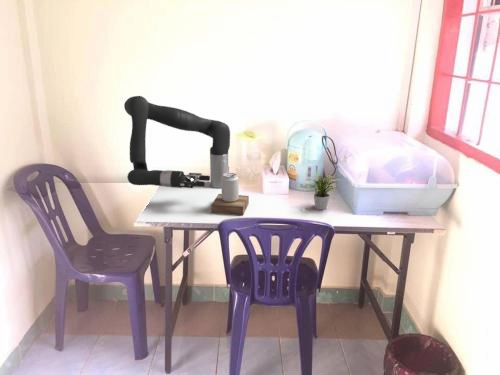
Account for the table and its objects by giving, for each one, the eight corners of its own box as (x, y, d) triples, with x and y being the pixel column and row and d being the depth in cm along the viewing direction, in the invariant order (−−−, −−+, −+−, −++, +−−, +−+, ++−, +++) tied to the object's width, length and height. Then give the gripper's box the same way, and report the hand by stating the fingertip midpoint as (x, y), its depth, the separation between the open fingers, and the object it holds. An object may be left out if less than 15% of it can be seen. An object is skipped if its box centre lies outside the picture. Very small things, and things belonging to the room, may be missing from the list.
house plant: (330, 217, 187) (333, 181, 182) (300, 210, 193) (302, 175, 188) (340, 206, 199) (343, 172, 194) (312, 201, 205) (314, 168, 200)
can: (236, 203, 190) (236, 177, 186) (219, 202, 191) (219, 176, 187) (240, 197, 197) (240, 172, 193) (224, 196, 198) (224, 171, 194)
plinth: (219, 201, 203) (219, 193, 202) (248, 204, 201) (248, 195, 199) (211, 212, 190) (211, 204, 189) (242, 215, 188) (242, 206, 186)
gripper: (166, 175, 188) (202, 177, 185) (177, 166, 201) (211, 168, 199) (167, 191, 190) (203, 194, 188) (177, 181, 204) (211, 184, 201)
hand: (207, 181), depth 193 cm, fingers open, 8 cm apart
